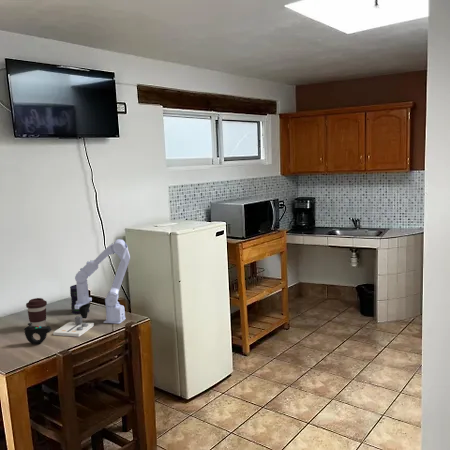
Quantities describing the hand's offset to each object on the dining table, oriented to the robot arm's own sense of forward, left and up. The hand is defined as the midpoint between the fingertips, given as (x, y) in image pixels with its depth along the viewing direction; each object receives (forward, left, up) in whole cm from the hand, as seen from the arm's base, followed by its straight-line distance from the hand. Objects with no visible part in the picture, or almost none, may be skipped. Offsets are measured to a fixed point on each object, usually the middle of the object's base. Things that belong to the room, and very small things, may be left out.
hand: (84, 318), depth 244 cm
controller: (+8, +29, -3) cm, 30 cm away
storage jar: (+12, -17, -3) cm, 21 cm away
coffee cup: (+21, +10, -3) cm, 23 cm away
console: (0, +11, -3) cm, 11 cm away
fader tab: (0, +6, -1) cm, 6 cm away
